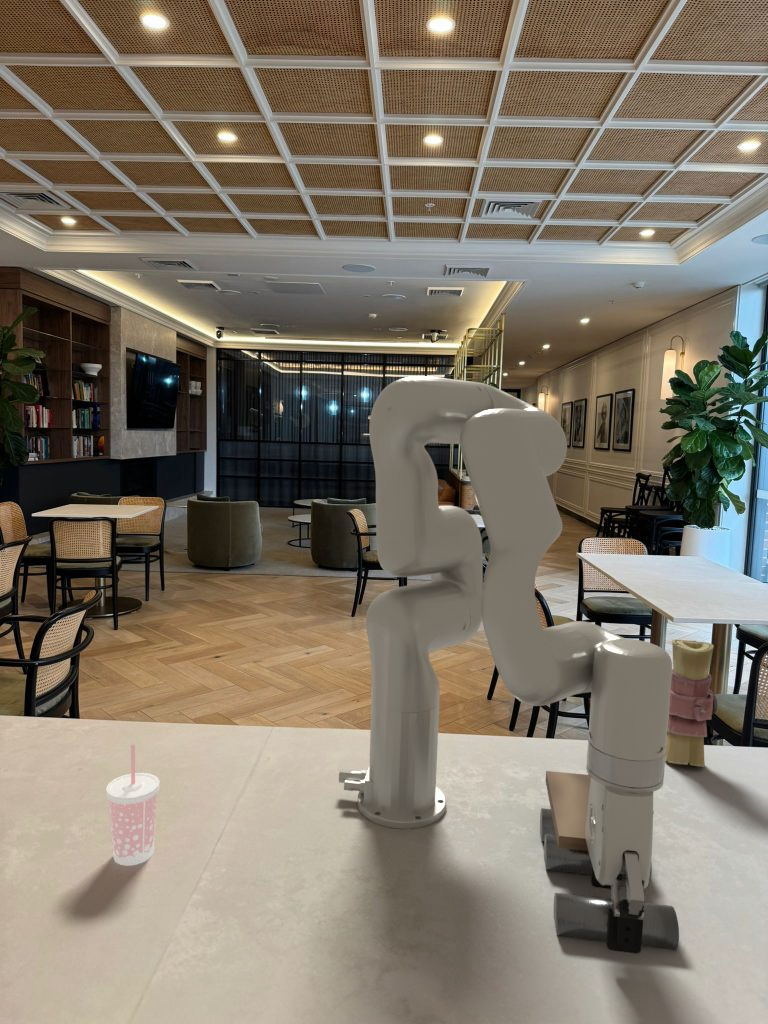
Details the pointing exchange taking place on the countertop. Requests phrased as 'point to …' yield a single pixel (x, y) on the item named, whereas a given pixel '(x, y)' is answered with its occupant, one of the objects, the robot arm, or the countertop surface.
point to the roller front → (567, 858)
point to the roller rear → (546, 823)
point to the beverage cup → (133, 815)
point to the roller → (591, 920)
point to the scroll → (689, 702)
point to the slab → (569, 807)
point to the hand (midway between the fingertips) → (613, 916)
